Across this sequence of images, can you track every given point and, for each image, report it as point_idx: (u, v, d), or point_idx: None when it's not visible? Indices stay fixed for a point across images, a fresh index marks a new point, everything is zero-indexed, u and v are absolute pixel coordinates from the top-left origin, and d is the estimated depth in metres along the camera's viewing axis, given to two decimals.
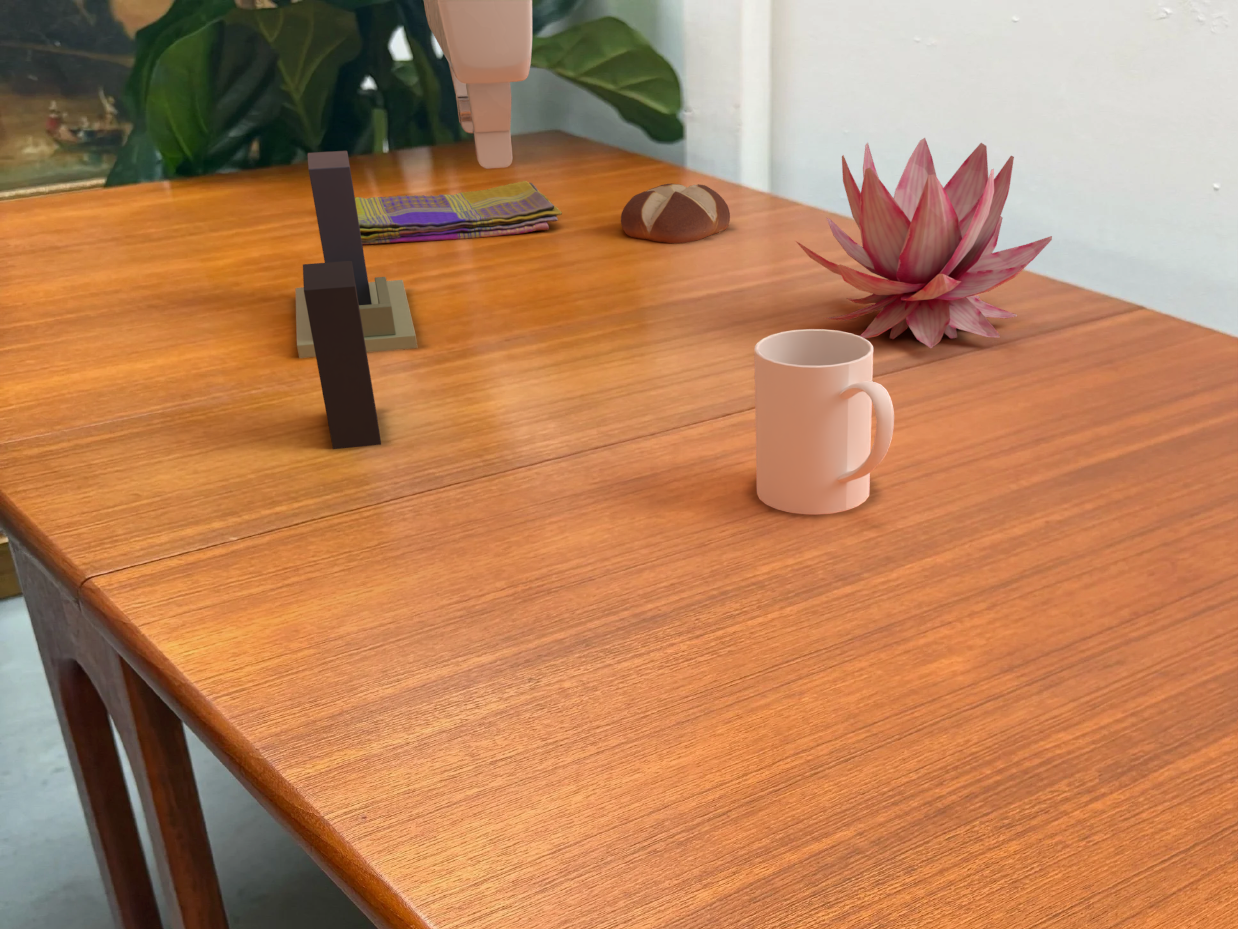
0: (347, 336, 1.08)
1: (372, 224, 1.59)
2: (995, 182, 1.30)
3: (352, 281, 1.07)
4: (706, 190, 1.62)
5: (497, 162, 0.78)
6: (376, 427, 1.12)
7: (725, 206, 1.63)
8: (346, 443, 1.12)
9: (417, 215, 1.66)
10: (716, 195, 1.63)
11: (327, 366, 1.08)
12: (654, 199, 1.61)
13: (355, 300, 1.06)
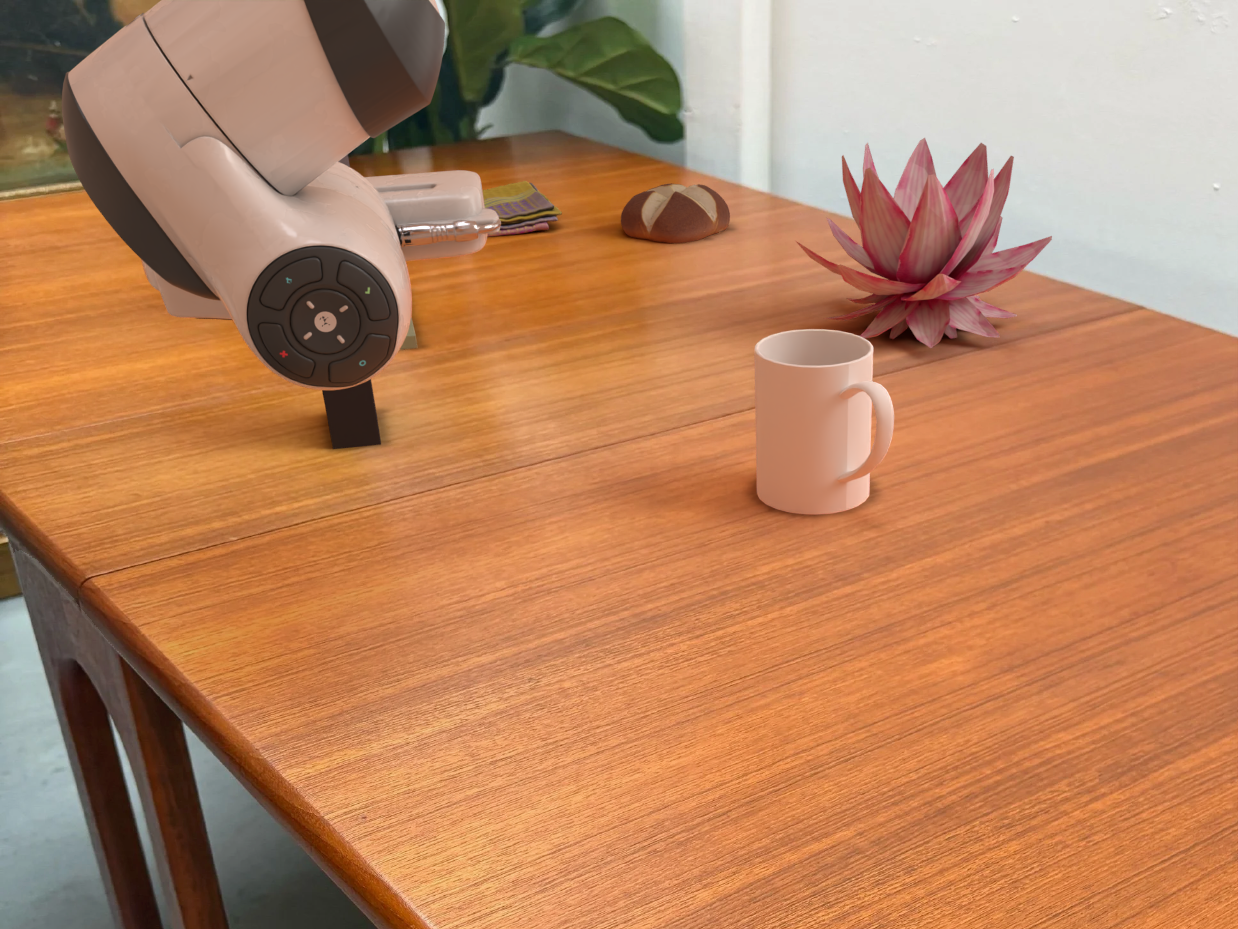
0: None
1: None
2: (994, 182, 1.30)
3: None
4: (706, 190, 1.62)
5: None
6: (376, 427, 1.12)
7: (725, 206, 1.63)
8: (346, 443, 1.12)
9: None
10: (716, 195, 1.63)
11: None
12: (654, 199, 1.61)
13: None
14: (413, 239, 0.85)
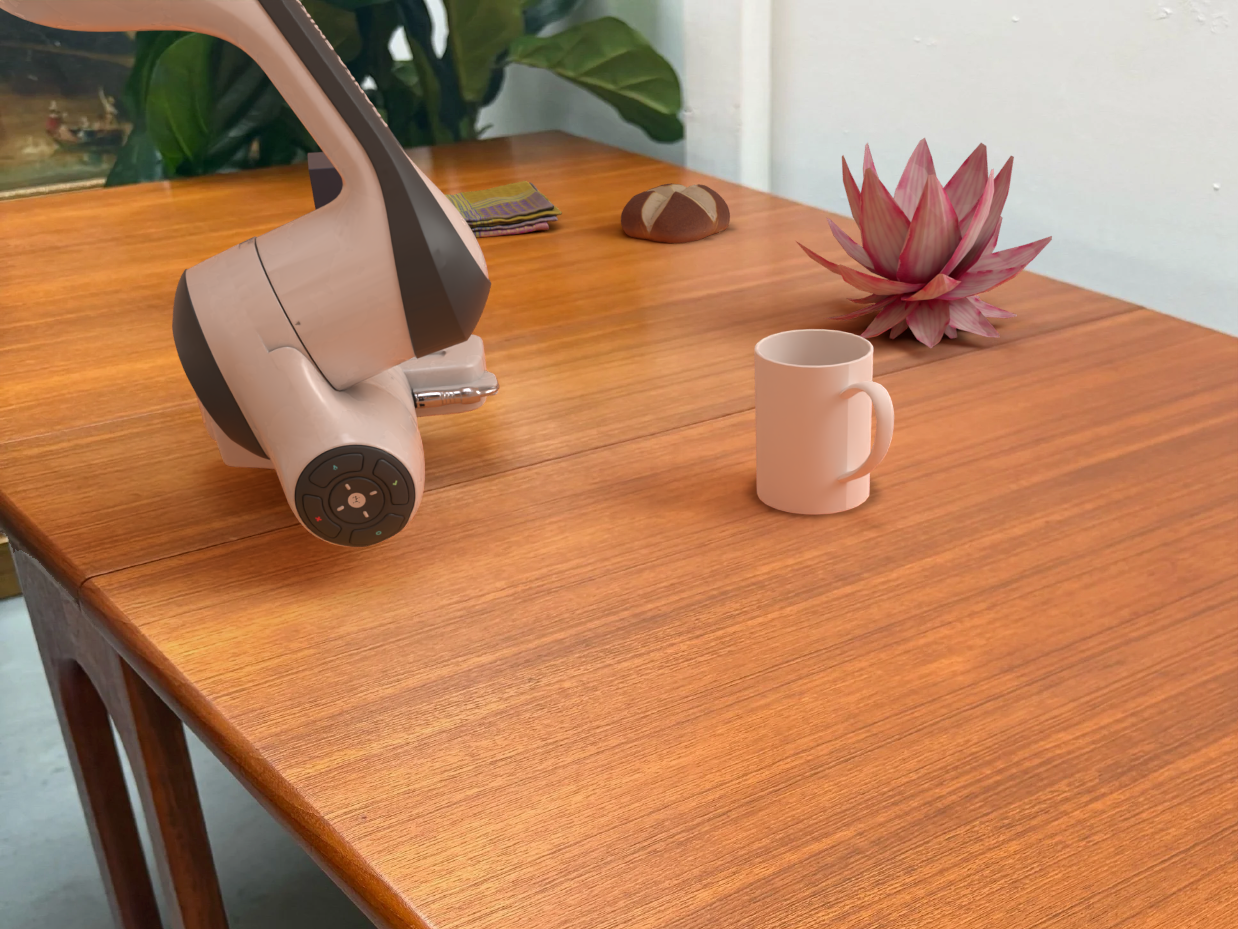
0: None
1: None
2: (994, 182, 1.30)
3: None
4: (706, 190, 1.62)
5: None
6: None
7: (725, 206, 1.63)
8: None
9: None
10: (716, 195, 1.63)
11: None
12: (654, 199, 1.61)
13: None
14: (426, 403, 1.02)
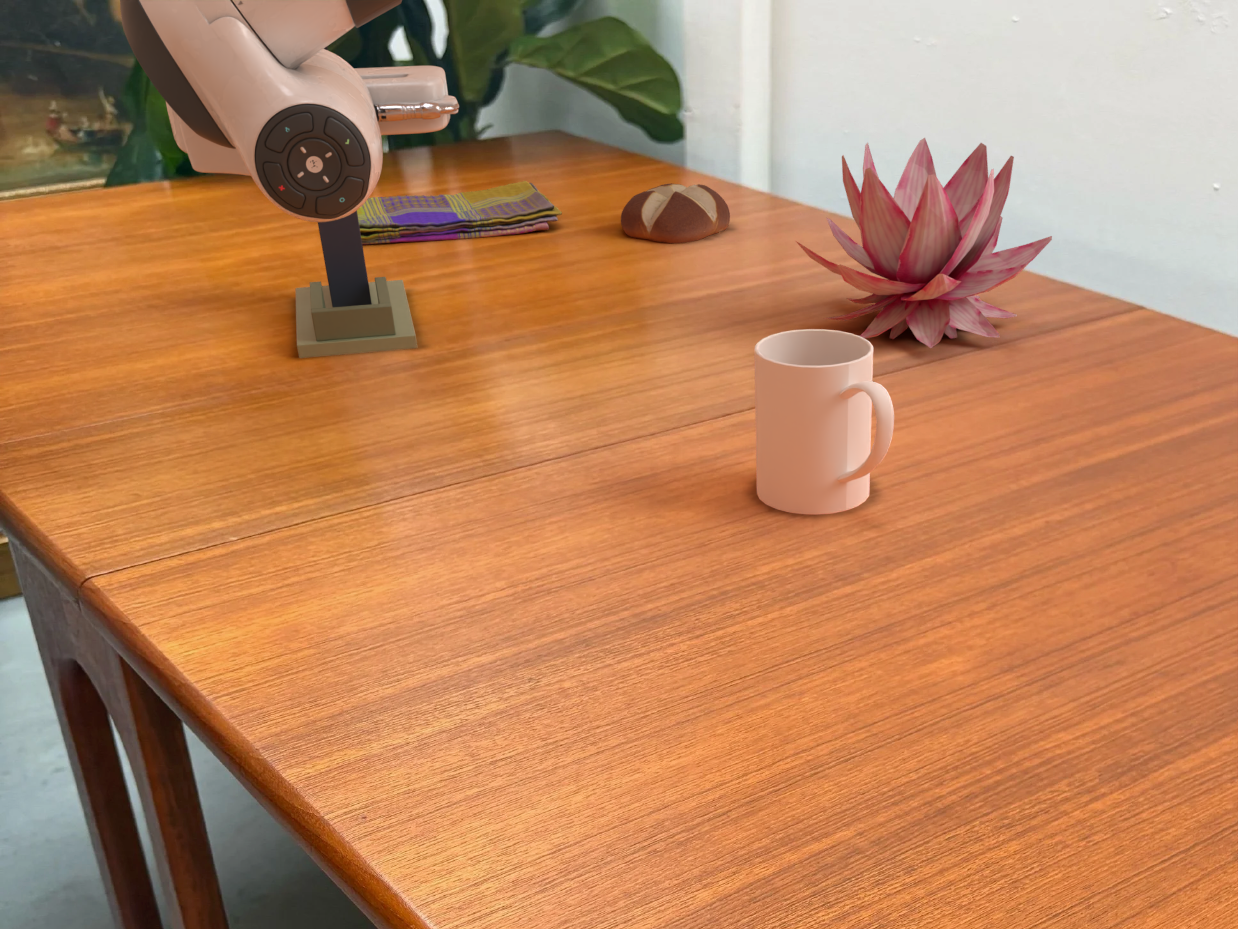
0: None
1: (372, 224, 1.59)
2: (995, 182, 1.30)
3: None
4: (706, 190, 1.62)
5: None
6: None
7: (725, 206, 1.63)
8: None
9: (417, 215, 1.66)
10: (716, 195, 1.63)
11: None
12: (654, 199, 1.61)
13: None
14: (388, 115, 1.07)
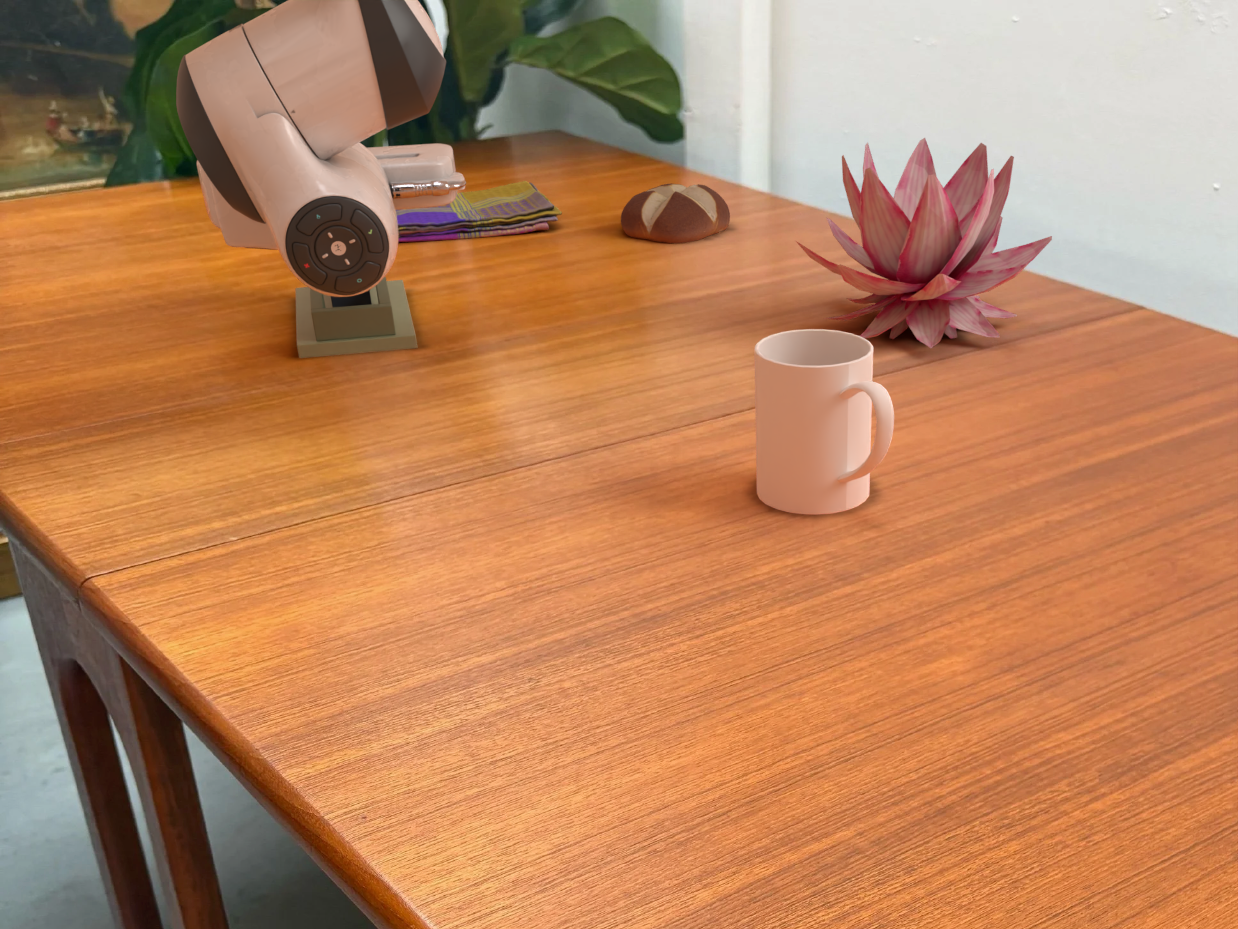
0: None
1: None
2: (995, 182, 1.30)
3: None
4: (706, 190, 1.62)
5: None
6: None
7: (725, 206, 1.63)
8: None
9: (417, 215, 1.66)
10: (716, 195, 1.63)
11: None
12: (654, 199, 1.61)
13: None
14: (402, 193, 1.18)
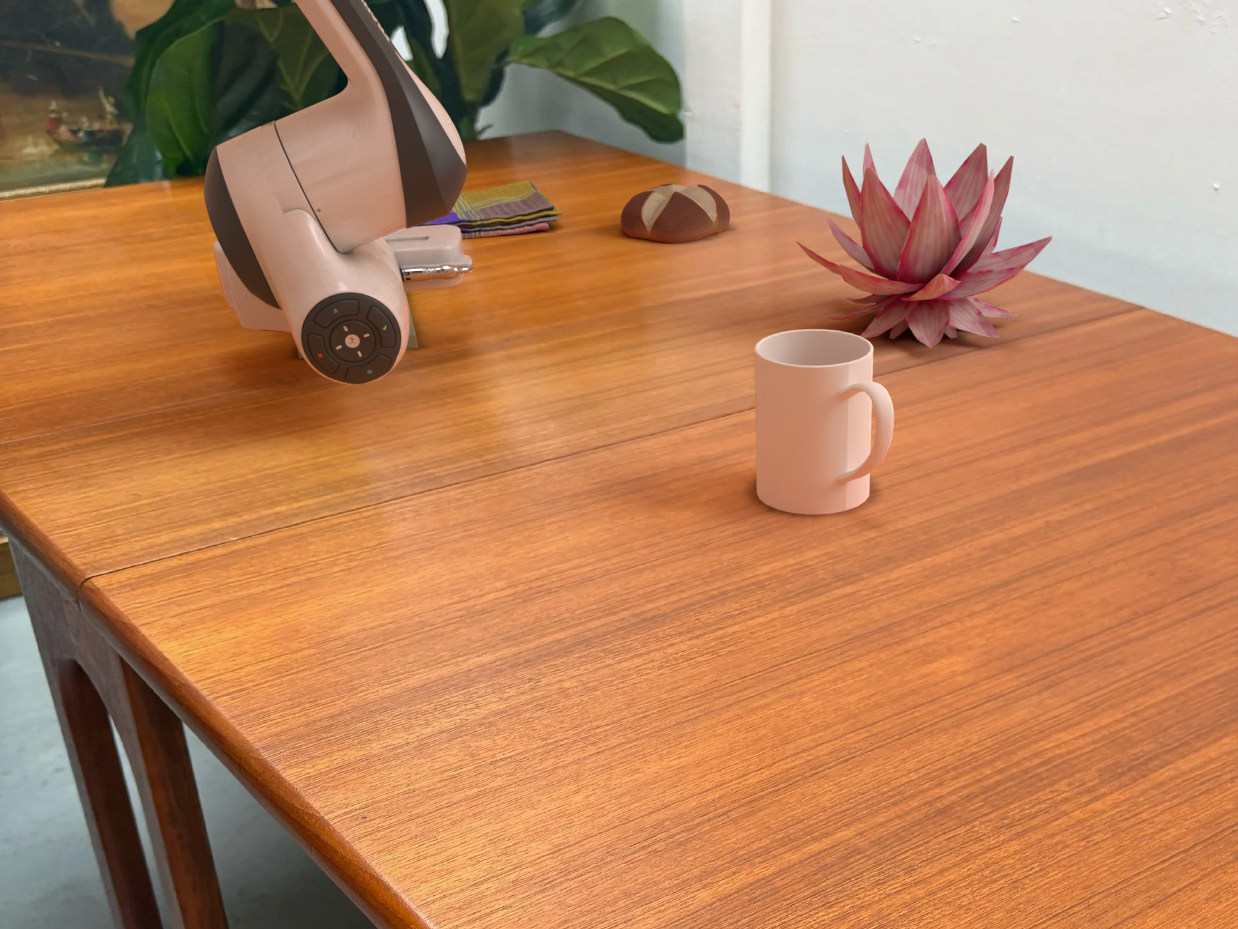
0: None
1: None
2: (994, 182, 1.30)
3: None
4: (706, 190, 1.62)
5: None
6: None
7: (725, 206, 1.63)
8: None
9: None
10: (716, 195, 1.63)
11: None
12: (654, 199, 1.61)
13: None
14: (412, 277, 1.21)
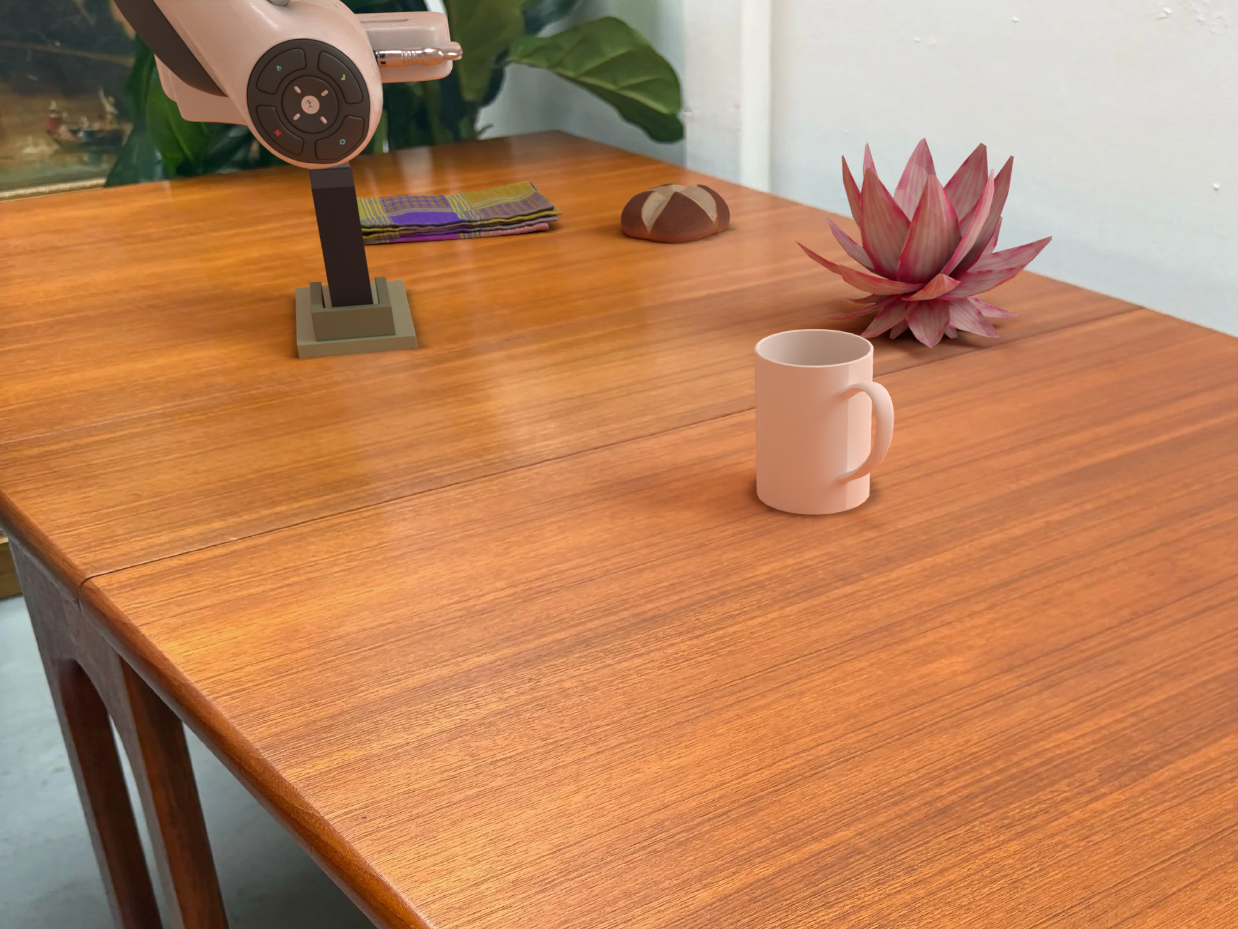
0: (348, 230, 1.27)
1: (372, 224, 1.59)
2: (994, 182, 1.30)
3: (352, 182, 1.26)
4: (706, 190, 1.62)
5: None
6: None
7: (725, 206, 1.63)
8: None
9: (417, 215, 1.66)
10: (716, 195, 1.63)
11: (331, 256, 1.27)
12: (654, 199, 1.61)
13: (355, 198, 1.26)
14: (387, 61, 1.01)
